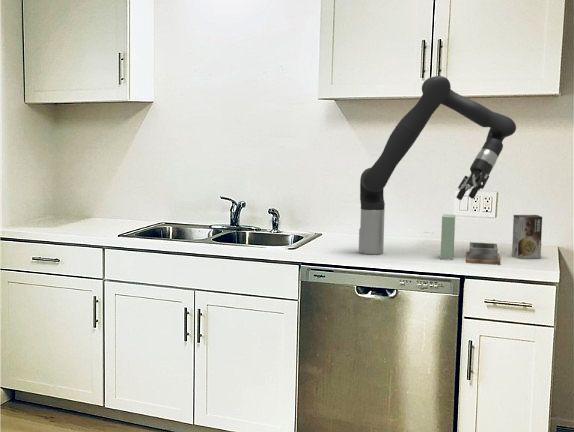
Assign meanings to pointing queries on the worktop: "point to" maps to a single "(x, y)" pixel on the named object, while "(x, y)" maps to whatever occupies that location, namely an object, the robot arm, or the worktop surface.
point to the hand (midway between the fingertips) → (464, 198)
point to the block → (447, 236)
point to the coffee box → (527, 236)
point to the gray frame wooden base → (483, 253)
